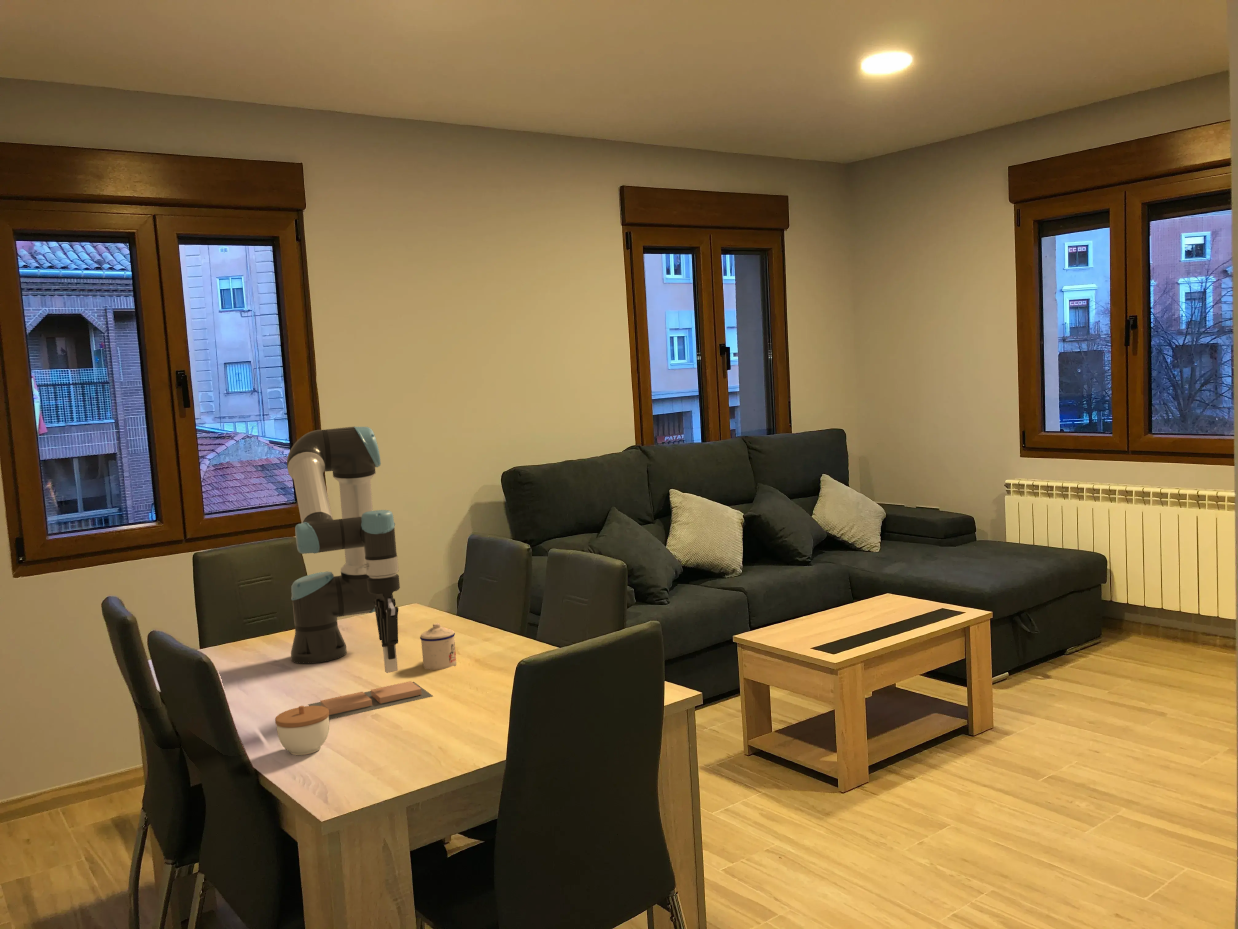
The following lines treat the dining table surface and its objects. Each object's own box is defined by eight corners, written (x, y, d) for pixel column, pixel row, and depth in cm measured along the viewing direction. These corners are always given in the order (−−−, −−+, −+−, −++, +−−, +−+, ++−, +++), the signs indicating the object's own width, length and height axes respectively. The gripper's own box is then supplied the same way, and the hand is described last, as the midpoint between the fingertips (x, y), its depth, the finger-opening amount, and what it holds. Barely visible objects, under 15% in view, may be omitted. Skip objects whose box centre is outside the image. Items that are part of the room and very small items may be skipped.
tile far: (370, 689, 241) (380, 697, 234) (410, 681, 246) (421, 688, 239) (371, 696, 241) (380, 704, 234) (411, 687, 246) (421, 695, 239)
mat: (308, 706, 238) (308, 704, 238) (413, 684, 251) (413, 681, 250) (323, 723, 225) (322, 721, 225) (433, 698, 237) (433, 696, 237)
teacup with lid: (457, 669, 261) (454, 625, 260) (422, 673, 259) (418, 629, 258) (457, 657, 273) (453, 615, 272) (423, 661, 271) (419, 619, 270)
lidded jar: (285, 743, 214) (281, 700, 213) (336, 738, 215) (332, 696, 214) (272, 762, 203) (268, 717, 202) (326, 757, 204) (322, 712, 203)
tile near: (320, 700, 235) (328, 709, 228) (362, 691, 240) (371, 699, 233) (320, 707, 235) (329, 716, 228) (363, 698, 240) (372, 706, 233)
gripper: (359, 573, 243) (368, 668, 245) (374, 581, 232) (384, 680, 234) (390, 569, 247) (398, 662, 249) (406, 576, 235) (414, 674, 237)
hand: (391, 671), depth 241 cm, fingers closed
